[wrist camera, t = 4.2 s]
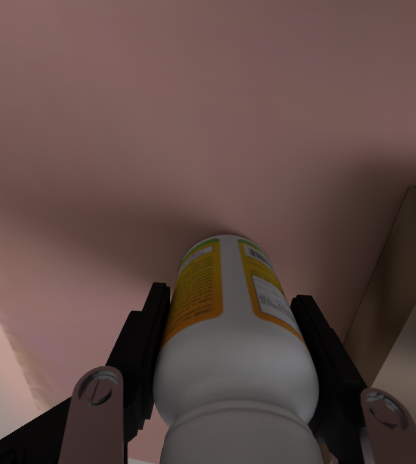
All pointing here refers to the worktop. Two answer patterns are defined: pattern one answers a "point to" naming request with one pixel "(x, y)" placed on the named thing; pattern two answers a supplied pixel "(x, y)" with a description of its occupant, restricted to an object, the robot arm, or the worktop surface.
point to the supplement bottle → (234, 363)
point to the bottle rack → (389, 318)
